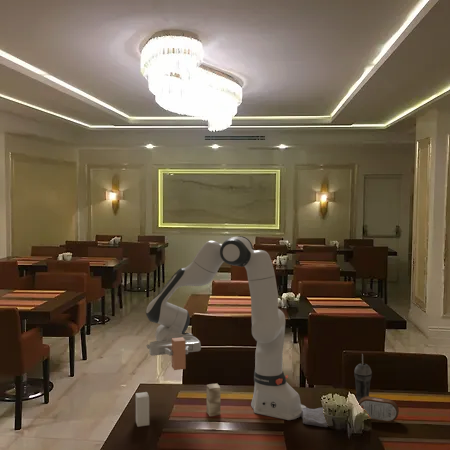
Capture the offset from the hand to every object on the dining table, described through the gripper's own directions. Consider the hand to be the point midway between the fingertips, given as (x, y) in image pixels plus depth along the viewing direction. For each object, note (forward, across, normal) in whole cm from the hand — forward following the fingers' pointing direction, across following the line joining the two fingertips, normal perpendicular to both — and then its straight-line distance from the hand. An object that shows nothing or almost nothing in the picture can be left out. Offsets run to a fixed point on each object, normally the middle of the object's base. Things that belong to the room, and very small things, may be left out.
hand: (179, 352), depth 196 cm
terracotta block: (-1, 0, +6) cm, 6 cm away
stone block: (+18, +50, +26) cm, 59 cm away
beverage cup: (+6, +77, +26) cm, 82 cm away
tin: (+24, +72, +26) cm, 80 cm away
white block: (-1, -14, +26) cm, 29 cm away
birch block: (-1, +14, +26) cm, 29 cm away
